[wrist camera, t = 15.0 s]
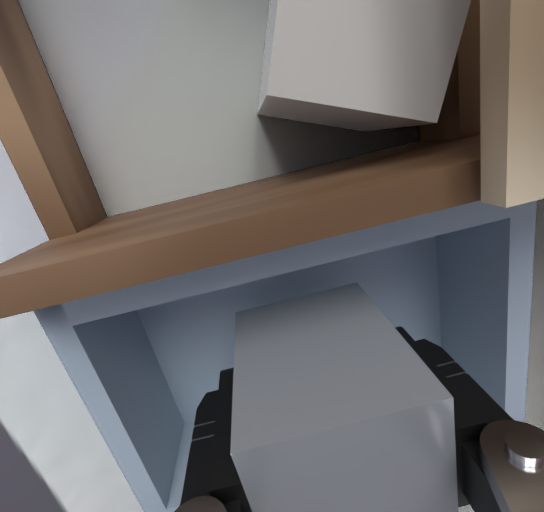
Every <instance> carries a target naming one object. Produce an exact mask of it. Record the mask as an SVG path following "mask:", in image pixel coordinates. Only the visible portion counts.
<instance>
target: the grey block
mask: <svg viewBox="0 0 544 512" xmlns="http://www.w3.org/2000/svg"><path fill="white" fill-rule="evenodd" d="M230 454H231V457H232V459H233V462H234V465H235V467H236V470H237V473H238V475H239V478H240V481H241V483H242V486H243V489H244V491H245V494H246V497H247V499H248V502H249V505H250V507H251V510H252V512H458V493H457V469H456V446H455V423H454V399H453V396H452V395H451V394H450V393H449V392H448V390H447V389H446V388H445V387H444V386H443V384H442V383H441V382H440V381H439V380H438V378H437V377H436V376H435V375H434V374H433V373H432V371H431V370H430V369H429V368H428V367H427V365H426V364H425V363H424V362H423V361H422V359H421V358H420V357H419V356H418V355H417V353H416V352H415V351H414V350H413V349H412V348H411V346H410V345H409V344H408V343H407V342H406V340H405V339H404V338H403V337H402V336H401V334H400V333H399V332H398V331H397V330H396V328H395V327H394V326H393V325H392V324H391V323H390V321H389V320H388V319H387V318H386V317H385V315H384V314H383V313H382V312H381V311H380V309H379V308H378V307H377V306H376V305H375V304H374V302H373V301H372V300H371V299H370V298H369V296H368V295H367V294H366V293H365V292H364V290H363V289H362V288H361V287H360V286H359V284H358V283H357V282H356V283H352V284H348V285H344V286H340V287H336V288H332V289H328V290H324V291H320V292H316V293H312V294H308V295H304V296H299V297H295V298H291V299H287V300H283V301H279V302H275V303H271V304H267V305H263V306H259V307H255V308H251V309H247V310H243V311H239V312H236V319H235V345H234V371H233V397H232V423H231V449H230Z"/></svg>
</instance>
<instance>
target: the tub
mask: <svg viewBox="0 0 544 512" xmlns="http://www.w3.org/2000/svg"><path fill="white" fill-rule="evenodd" d="M536 211H537V200H536V201H532V202H528V203H524V204H520V205H516V206H512V207H508V208H504V207H500V206H496V205H491V204H487V203H483V202H481V200H479V201H475V202H471V203H467V204H463V205H459V206H455V207H451V208H447V209H443V210H439V211H435V212H431V213H427V214H423V215H419V216H415V217H410V218H406V219H402V220H398V221H394V222H390V223H386V224H382V225H378V226H374V227H370V228H366V229H362V230H358V231H354V232H350V233H346V234H342V235H337V236H333V237H329V238H325V239H321V240H317V241H313V242H309V243H305V244H301V245H297V246H293V247H289V248H285V249H281V250H277V251H273V252H269V253H264V254H260V255H256V256H252V257H248V258H244V259H240V260H236V261H232V262H228V263H224V264H220V265H216V266H212V267H208V268H204V269H200V270H196V271H191V272H187V273H183V274H179V275H175V276H171V277H167V278H163V279H159V280H155V281H151V282H147V283H143V284H139V285H135V286H131V287H127V288H123V289H118V290H114V291H110V292H106V293H102V294H98V295H94V296H90V297H86V298H82V299H78V300H74V301H70V302H66V303H62V304H58V305H54V306H50V307H45V308H41V309H37V310H33V311H34V313H35V315H36V316H37V318H38V320H39V322H40V324H41V326H42V327H43V329H44V331H45V333H46V335H47V336H48V338H49V340H50V342H51V344H52V346H53V347H54V349H55V351H56V353H57V355H58V356H59V358H60V360H61V362H62V364H63V366H64V367H65V369H66V371H67V373H68V375H69V376H70V378H71V380H72V382H73V384H74V386H75V387H76V389H77V391H78V393H79V395H80V396H81V398H82V400H83V402H84V404H85V405H86V407H87V409H88V411H89V413H90V415H91V416H92V418H93V420H94V422H95V424H96V425H97V427H98V429H99V431H100V433H101V435H102V436H103V438H104V440H105V442H106V444H107V445H108V447H109V449H110V451H111V453H112V455H113V456H114V458H115V460H116V462H117V464H118V465H119V467H120V469H121V471H122V473H123V475H124V476H125V478H126V480H127V482H128V484H129V485H130V487H131V489H132V491H133V493H134V495H135V496H136V498H137V500H138V502H139V504H140V505H141V507H142V509H143V511H144V512H174V511H175V510H176V509H177V508H178V507H179V506H180V502H181V497H182V492H183V486H184V480H185V474H186V468H187V463H188V457H189V451H190V445H191V442H192V433H193V428H194V422H195V416H196V410H197V407H198V406H199V404H200V402H201V401H202V399H203V397H204V396H205V394H206V393H207V392H211V391H215V390H218V388H219V378H220V371H222V370H225V369H229V368H233V367H234V345H235V319H236V312H239V311H243V310H247V309H251V308H255V307H259V306H263V305H267V304H271V303H275V302H279V301H283V300H287V299H291V298H295V297H299V296H304V295H308V294H312V293H316V292H320V291H324V290H328V289H332V288H336V287H340V286H344V285H348V284H352V283H356V282H357V283H358V284H359V286H360V287H361V288H362V289H363V290H364V292H365V293H366V294H367V295H368V296H369V298H370V299H371V300H372V301H373V302H374V304H375V305H376V306H377V307H378V308H379V309H380V311H381V312H382V313H383V314H384V315H385V317H386V318H387V319H388V320H389V321H390V323H391V324H392V325H393V326H394V327H399V326H401V327H403V328H404V329H405V330H406V331H407V333H408V334H409V335H410V336H411V337H412V338H413V339H414V340H415V341H417V340H421V339H426V340H428V341H430V342H432V343H434V344H436V345H438V346H440V347H442V348H443V349H444V350H445V351H446V352H447V353H448V354H449V355H450V356H451V357H452V358H453V359H454V361H455V363H458V364H459V365H460V366H461V367H462V368H463V369H464V370H465V373H466V374H469V375H470V376H471V377H472V378H473V379H474V380H475V381H476V382H477V383H478V384H479V385H480V386H481V387H482V388H483V389H484V390H485V391H486V392H487V393H488V394H489V395H490V396H491V397H492V398H493V400H494V401H495V402H496V403H497V404H498V405H499V406H500V407H501V408H502V409H503V410H504V411H505V412H506V413H507V414H508V415H509V416H510V417H511V418H513V419H514V420H515V421H520V422H524V423H525V407H526V390H527V372H528V354H529V336H530V318H531V300H532V282H533V265H534V247H535V229H536Z"/></svg>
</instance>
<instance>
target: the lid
mask: <svg viewBox="0 0 544 512" xmlns="http://www.w3.org/2000/svg"><path fill="white" fill-rule="evenodd" d="M480 134H481V202H483V203H487V204H491V205H496V206H500V207H504V208H508V207H512V206H516V205H520V204H524V203H528V202H532V201H536V200H540V199H544V0H480Z"/></svg>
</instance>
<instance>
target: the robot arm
mask: <svg viewBox="0 0 544 512" xmlns="http://www.w3.org/2000/svg"><path fill="white" fill-rule="evenodd" d="M395 328H396V330H397V331H398V332H399V333H400V334H401V336H402V337H403V338H404V339H405V340H406V342H407V343H408V344H409V345H410V346H411V348H412V349H413V350H414V351H415V352H416V353H417V355H418V356H419V357H420V358H421V359H422V361H423V362H424V363H425V364H426V365H427V367H428V368H429V369H430V370H431V371H432V373H433V374H434V375H435V376H436V377H437V378H438V380H439V381H440V382H441V383H442V384H443V386H444V387H445V388H446V389H447V390H448V392H449V393H450V394H451V395H452V396H453V399H454V423H455V446H456V469H457V493H458V507H461V506H465V505H469V504H470V505H471V507H472V508H473V510H474V511H475V512H544V431H543V430H542V429H539V428H537V427H535V426H533V425H530V424H528V423H524V422H520V421H515V420H514V419H513V418H511V417H510V416H509V415H508V414H507V413H506V412H505V411H504V410H503V409H502V408H501V407H500V406H499V405H498V404H497V403H496V402H495V401H494V400H493V398H492V397H491V396H490V395H489V394H488V393H487V392H486V391H485V390H484V389H483V388H482V387H481V386H480V385H479V384H478V383H477V382H476V381H475V380H474V379H473V378H472V377H471V376H470V375H469V374H466V373H465V370H464V369H463V368H462V367H461V366H460V365H459V364H458V363H455V361H454V359H453V358H452V357H451V356H450V355H449V354H448V353H447V352H446V351H445V350H444V349H443V348H442V347H440V346H438V345H436V344H434V343H432V342H430V341H428V340H426V339H421V340H417V341H415V340H414V339H413V338H412V337H411V336H410V335H409V334H408V333H407V331H406V330H405V329H404V328H403V327H401V326H399V327H395ZM233 371H234V367H233V368H229V369H225V370H222V371H220V378H219V388H218V390H215V391H211V392H207V393H206V394H205V396H204V397H203V399H202V401H201V402H200V404H199V406H198V407H197V410H196V416H195V422H194V428H193V433H192V442H191V445H190V451H189V457H188V463H187V468H186V474H185V480H184V486H183V492H182V497H181V502H180V506H179V507H178V508H177V509H176V510H175V511H174V512H252V510H251V507H250V505H249V502H248V499H247V497H246V494H245V491H244V489H243V486H242V483H241V481H240V478H239V475H238V473H237V470H236V467H235V465H234V462H233V459H232V457H231V454H230V449H231V423H232V397H233Z"/></svg>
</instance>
